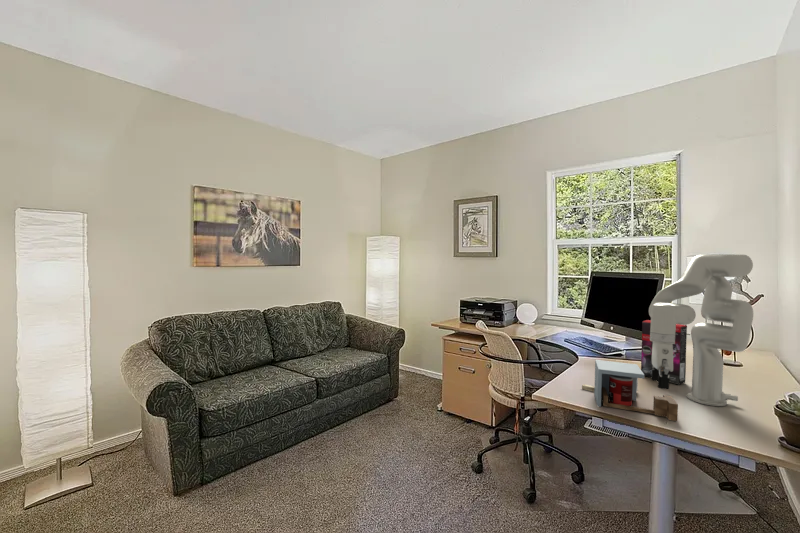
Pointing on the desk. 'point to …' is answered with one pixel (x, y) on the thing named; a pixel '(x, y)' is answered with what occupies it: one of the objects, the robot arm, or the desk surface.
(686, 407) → the desk surface
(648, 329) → the graphics card box
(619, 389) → the canned food
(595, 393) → the cubby
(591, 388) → the dowel
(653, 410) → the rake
